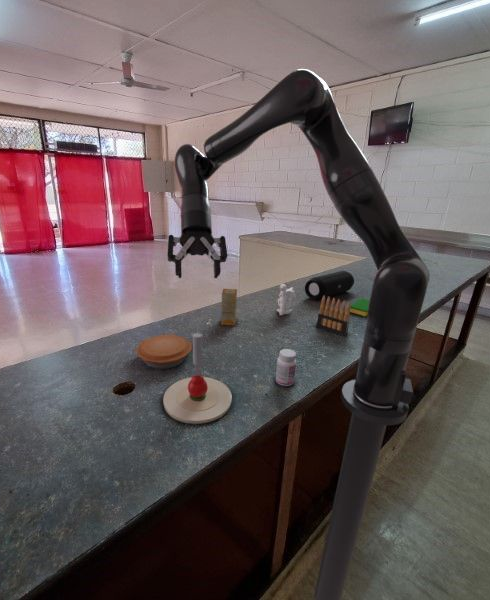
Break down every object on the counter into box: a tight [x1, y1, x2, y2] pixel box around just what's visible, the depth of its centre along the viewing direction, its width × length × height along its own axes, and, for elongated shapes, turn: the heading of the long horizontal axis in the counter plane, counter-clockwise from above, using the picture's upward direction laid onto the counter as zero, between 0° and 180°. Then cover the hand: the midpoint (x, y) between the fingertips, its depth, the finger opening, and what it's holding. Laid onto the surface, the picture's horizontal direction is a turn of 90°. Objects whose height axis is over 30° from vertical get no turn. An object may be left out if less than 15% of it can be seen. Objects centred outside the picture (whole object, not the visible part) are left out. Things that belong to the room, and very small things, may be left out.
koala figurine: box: [276, 283, 297, 316], centre depth 123 cm, size 8×7×12 cm
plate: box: [162, 376, 233, 425], centre depth 74 cm, size 16×16×1 cm
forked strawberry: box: [188, 332, 208, 401], centre depth 71 cm, size 5×5×16 cm
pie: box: [136, 334, 193, 370], centre depth 90 cm, size 15×16×5 cm
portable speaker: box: [304, 270, 355, 301], centre depth 144 cm, size 26×10×10 cm, turn 127°
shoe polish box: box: [220, 288, 238, 327], centre depth 113 cm, size 5×5×12 cm
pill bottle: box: [275, 348, 297, 387], centre depth 80 cm, size 5×5×8 cm
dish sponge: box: [350, 297, 370, 317], centre depth 129 cm, size 7×14×2 cm, turn 137°
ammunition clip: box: [315, 295, 351, 336], centre depth 109 cm, size 11×2×12 cm, turn 49°
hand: (198, 277), depth 74 cm, fingers open, 8 cm apart
